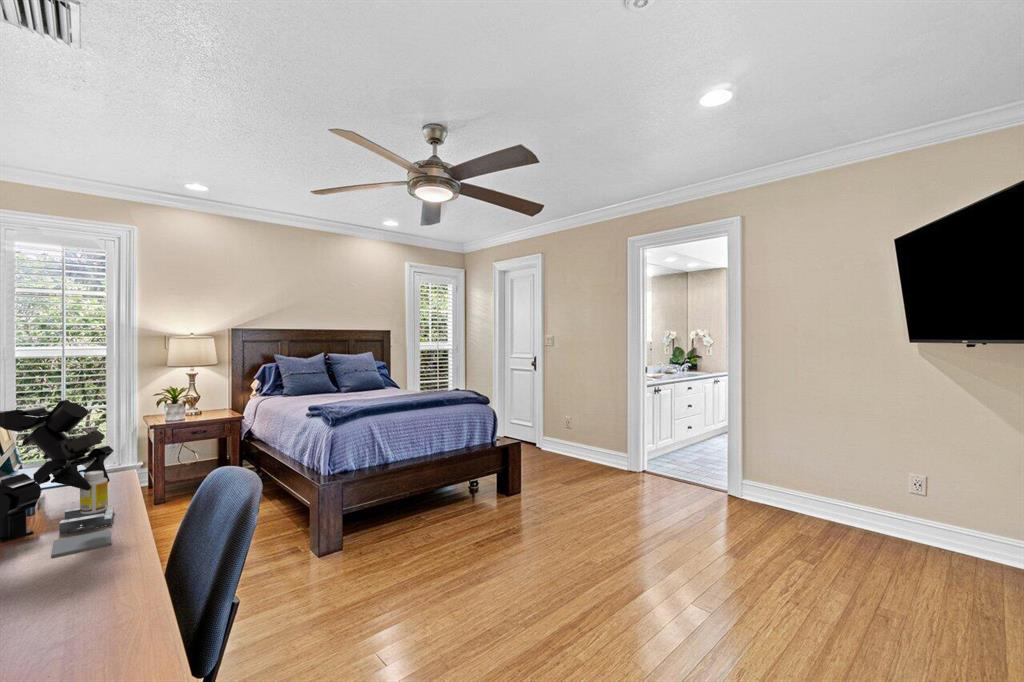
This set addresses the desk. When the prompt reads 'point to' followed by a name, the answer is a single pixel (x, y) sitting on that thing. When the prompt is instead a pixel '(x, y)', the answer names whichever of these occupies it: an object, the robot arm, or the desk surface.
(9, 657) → the desk surface
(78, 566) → the desk surface
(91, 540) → the slate pad
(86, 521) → the vise
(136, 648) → the desk surface
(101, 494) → the supplement bottle
